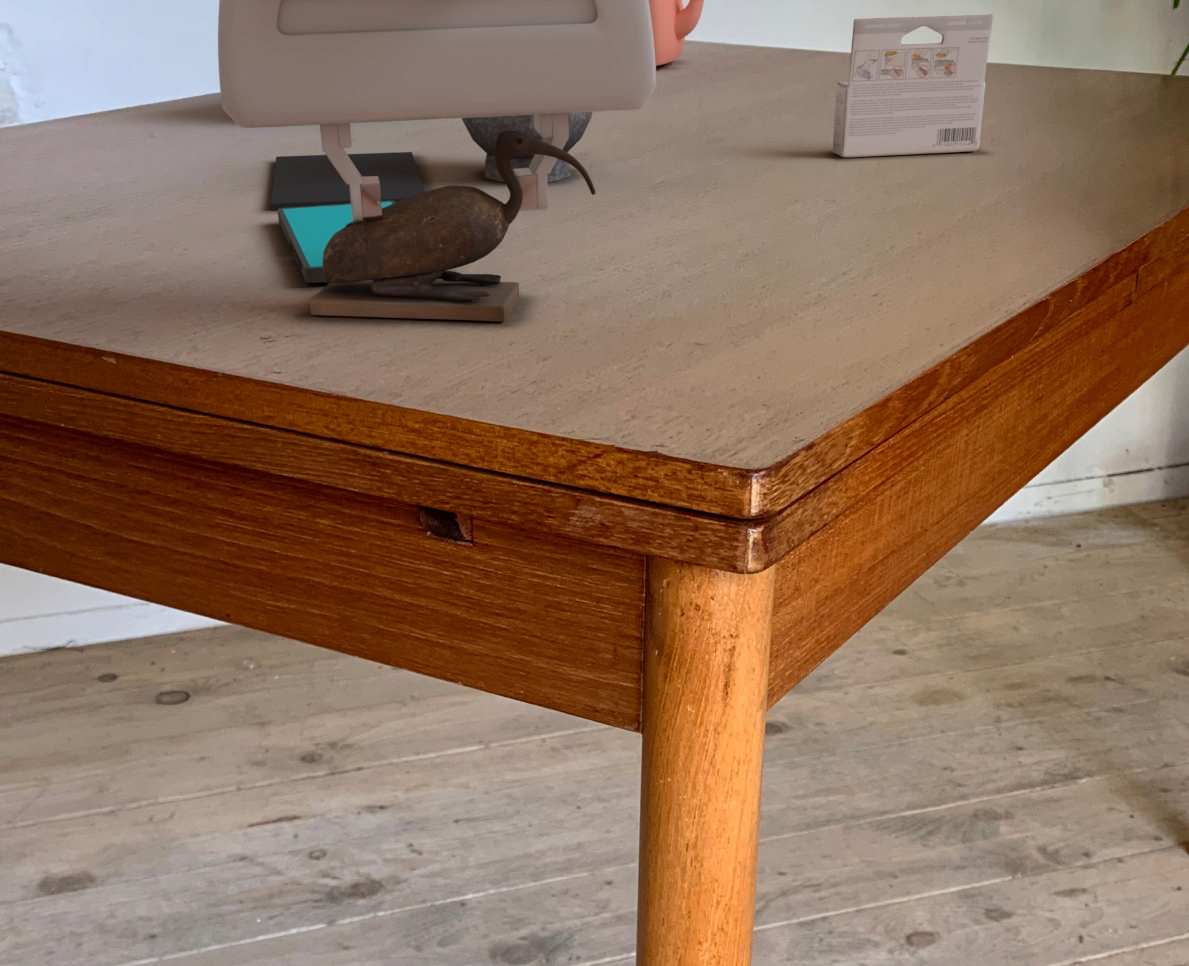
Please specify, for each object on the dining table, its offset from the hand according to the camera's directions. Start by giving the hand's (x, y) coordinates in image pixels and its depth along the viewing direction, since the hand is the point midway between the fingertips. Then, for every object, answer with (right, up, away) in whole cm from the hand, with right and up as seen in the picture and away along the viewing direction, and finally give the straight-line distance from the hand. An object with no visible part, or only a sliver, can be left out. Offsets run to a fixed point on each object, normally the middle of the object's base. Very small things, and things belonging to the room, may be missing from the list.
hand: (449, 213), depth 69 cm
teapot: (+12, +38, +82) cm, 91 cm away
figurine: (0, -5, +2) cm, 5 cm away
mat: (-10, +10, +29) cm, 33 cm away
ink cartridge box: (+31, +15, +38) cm, 51 cm away
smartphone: (-7, +1, +13) cm, 15 cm away
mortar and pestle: (+2, +11, +31) cm, 33 cm away
